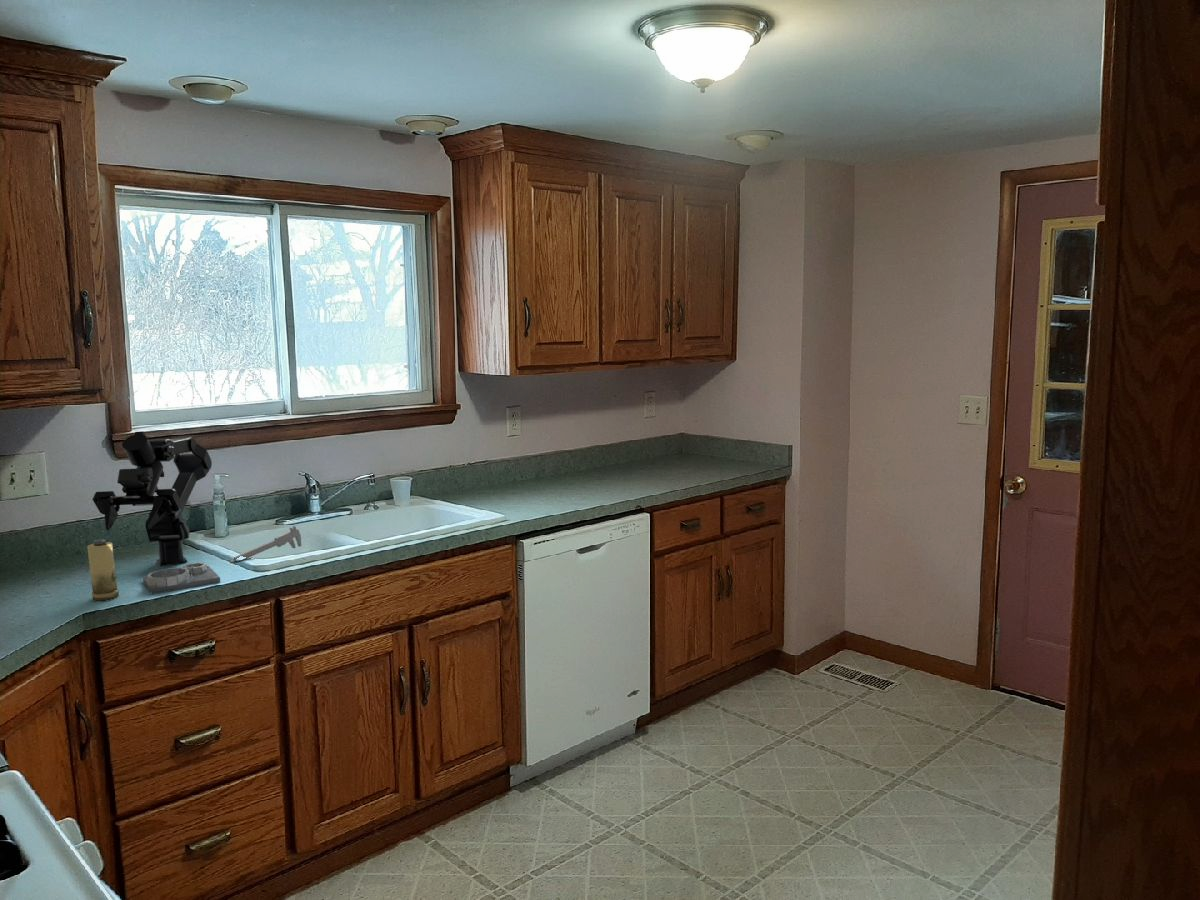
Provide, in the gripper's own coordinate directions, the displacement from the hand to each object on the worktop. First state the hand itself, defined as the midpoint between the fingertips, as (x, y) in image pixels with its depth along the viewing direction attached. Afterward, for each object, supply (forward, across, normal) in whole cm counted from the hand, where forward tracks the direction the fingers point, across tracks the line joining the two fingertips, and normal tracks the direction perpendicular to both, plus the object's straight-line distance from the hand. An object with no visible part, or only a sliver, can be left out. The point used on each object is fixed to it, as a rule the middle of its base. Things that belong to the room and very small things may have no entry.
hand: (127, 528), depth 215 cm
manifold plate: (+6, +10, +14) cm, 18 cm away
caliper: (-12, +23, +28) cm, 39 cm away
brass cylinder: (+14, -3, +7) cm, 16 cm away
